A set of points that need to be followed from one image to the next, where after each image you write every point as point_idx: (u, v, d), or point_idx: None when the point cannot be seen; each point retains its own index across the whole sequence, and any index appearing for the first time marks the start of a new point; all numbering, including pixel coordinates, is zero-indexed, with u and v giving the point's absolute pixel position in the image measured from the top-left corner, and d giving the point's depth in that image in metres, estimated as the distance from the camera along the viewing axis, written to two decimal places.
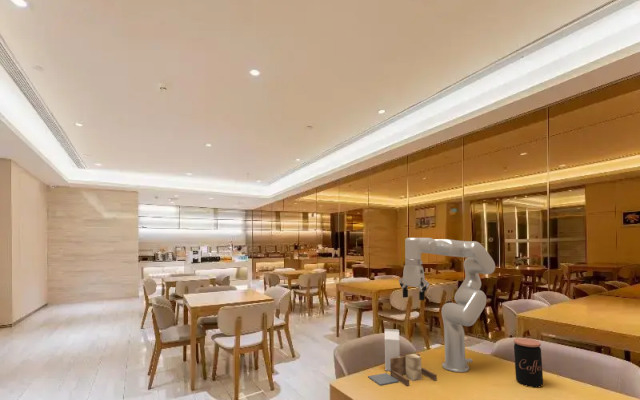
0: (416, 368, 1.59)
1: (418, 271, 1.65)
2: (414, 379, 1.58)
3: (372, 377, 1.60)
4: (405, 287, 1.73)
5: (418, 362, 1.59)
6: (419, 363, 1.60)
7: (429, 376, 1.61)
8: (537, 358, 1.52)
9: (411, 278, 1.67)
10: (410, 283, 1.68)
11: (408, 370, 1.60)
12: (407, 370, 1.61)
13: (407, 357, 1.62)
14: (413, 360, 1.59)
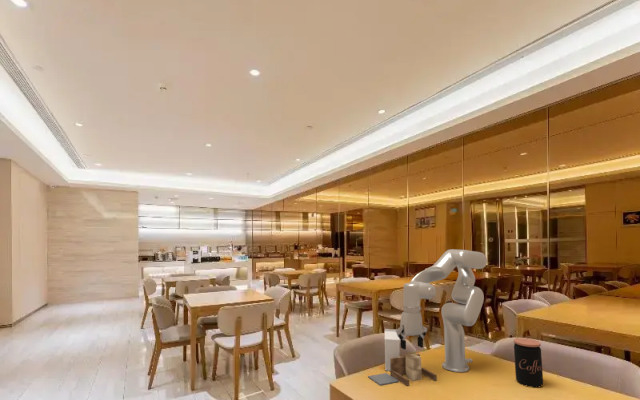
0: (416, 368, 1.59)
1: (421, 318, 1.64)
2: (414, 379, 1.58)
3: (372, 377, 1.60)
4: None
5: (418, 362, 1.59)
6: (419, 363, 1.60)
7: (429, 376, 1.61)
8: (537, 358, 1.52)
9: (416, 327, 1.61)
10: (414, 332, 1.61)
11: (408, 370, 1.60)
12: (407, 370, 1.61)
13: (407, 357, 1.62)
14: (413, 360, 1.59)
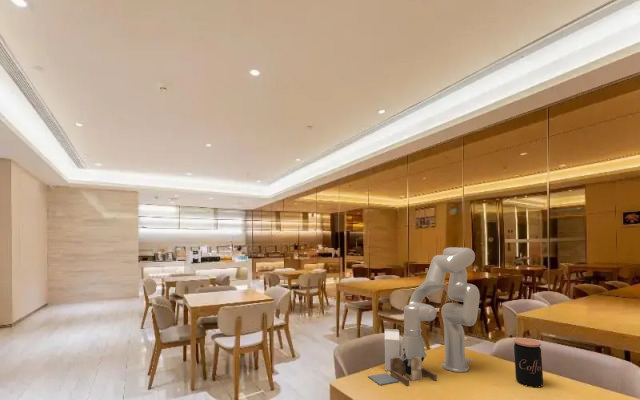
0: (416, 368, 1.59)
1: (422, 340, 1.63)
2: (414, 379, 1.58)
3: (372, 377, 1.60)
4: None
5: (418, 362, 1.59)
6: (419, 363, 1.60)
7: (429, 376, 1.61)
8: (537, 358, 1.52)
9: (417, 350, 1.60)
10: (416, 355, 1.60)
11: None
12: None
13: None
14: (413, 360, 1.59)
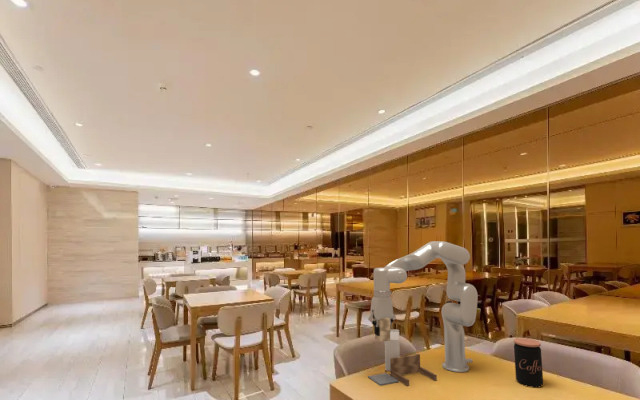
0: (385, 329, 1.59)
1: (391, 302, 1.63)
2: (382, 339, 1.58)
3: (372, 377, 1.60)
4: None
5: (386, 323, 1.60)
6: (388, 324, 1.60)
7: (429, 376, 1.61)
8: (537, 358, 1.52)
9: (386, 311, 1.60)
10: (384, 316, 1.60)
11: None
12: None
13: None
14: (381, 321, 1.59)
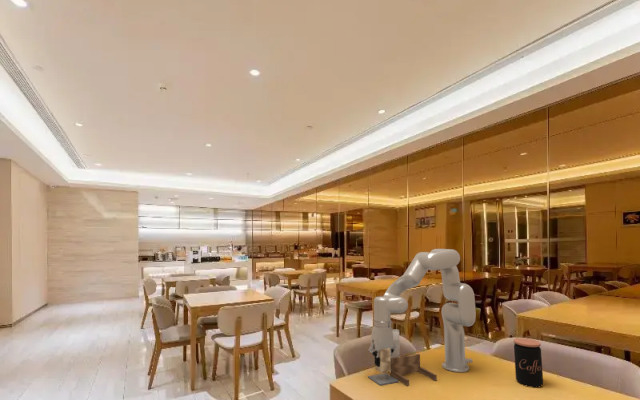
0: (385, 360, 1.57)
1: (392, 332, 1.61)
2: (383, 371, 1.56)
3: (372, 377, 1.60)
4: None
5: (387, 354, 1.58)
6: (388, 355, 1.58)
7: (429, 376, 1.61)
8: (537, 358, 1.52)
9: (386, 341, 1.59)
10: (385, 347, 1.59)
11: None
12: None
13: None
14: (382, 351, 1.57)
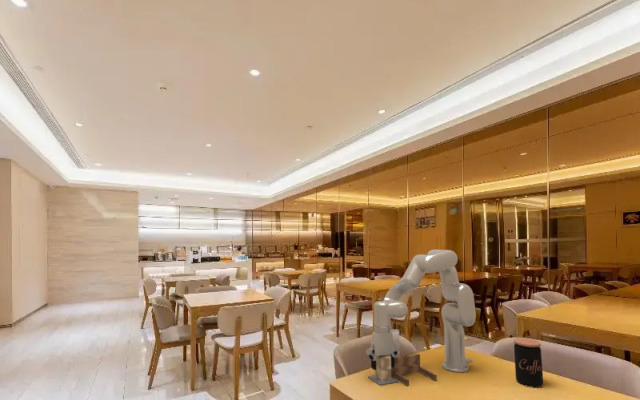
0: (386, 368, 1.57)
1: (392, 337, 1.61)
2: (383, 379, 1.56)
3: (372, 377, 1.60)
4: None
5: (387, 362, 1.58)
6: (389, 363, 1.58)
7: (429, 376, 1.61)
8: (537, 358, 1.52)
9: (387, 346, 1.59)
10: (385, 352, 1.58)
11: (378, 370, 1.59)
12: (377, 370, 1.59)
13: (377, 357, 1.60)
14: (382, 360, 1.57)
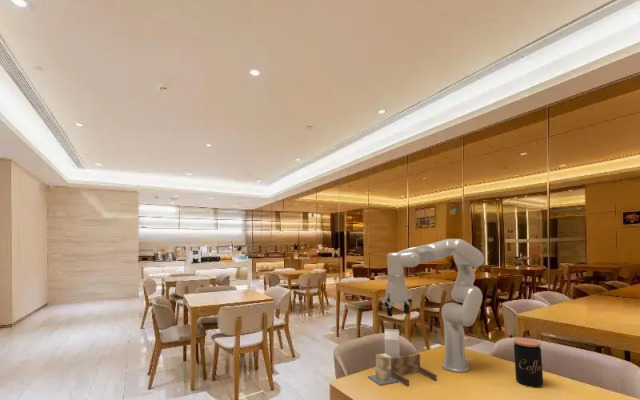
0: (386, 368, 1.57)
1: None
2: (383, 379, 1.56)
3: (372, 377, 1.60)
4: None
5: (387, 362, 1.58)
6: (389, 363, 1.58)
7: (429, 376, 1.61)
8: (537, 358, 1.52)
9: (401, 294, 1.65)
10: (400, 299, 1.65)
11: (378, 370, 1.59)
12: (377, 370, 1.59)
13: (377, 357, 1.60)
14: (382, 360, 1.57)
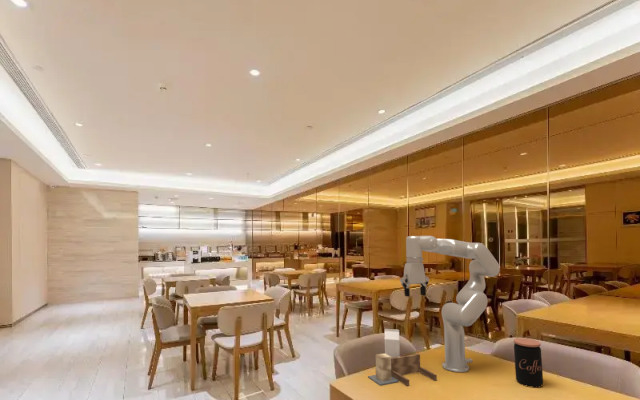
0: (386, 368, 1.57)
1: (423, 268, 1.73)
2: (383, 379, 1.56)
3: (372, 377, 1.60)
4: None
5: (387, 362, 1.58)
6: (389, 363, 1.58)
7: (429, 376, 1.61)
8: (537, 358, 1.52)
9: (419, 276, 1.71)
10: (417, 281, 1.71)
11: (378, 370, 1.59)
12: (377, 370, 1.59)
13: (377, 357, 1.60)
14: (382, 360, 1.57)
